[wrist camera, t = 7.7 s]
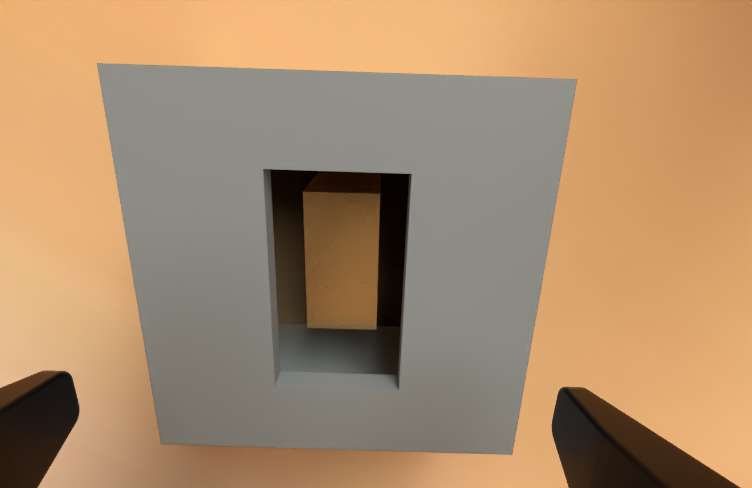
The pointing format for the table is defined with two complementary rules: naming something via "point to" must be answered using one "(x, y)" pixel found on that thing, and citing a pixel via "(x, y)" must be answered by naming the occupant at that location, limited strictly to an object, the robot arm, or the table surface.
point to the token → (342, 249)
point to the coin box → (257, 256)
